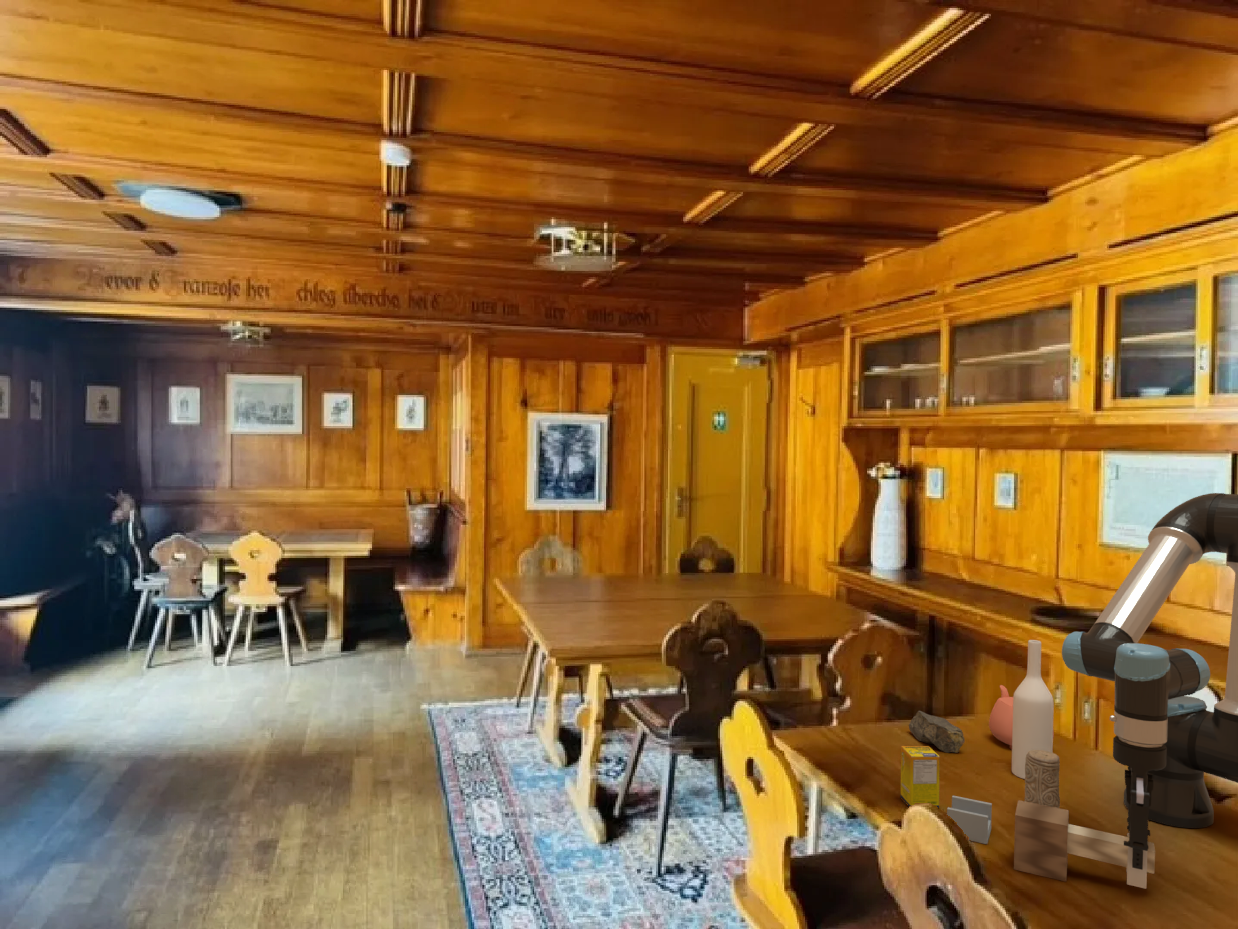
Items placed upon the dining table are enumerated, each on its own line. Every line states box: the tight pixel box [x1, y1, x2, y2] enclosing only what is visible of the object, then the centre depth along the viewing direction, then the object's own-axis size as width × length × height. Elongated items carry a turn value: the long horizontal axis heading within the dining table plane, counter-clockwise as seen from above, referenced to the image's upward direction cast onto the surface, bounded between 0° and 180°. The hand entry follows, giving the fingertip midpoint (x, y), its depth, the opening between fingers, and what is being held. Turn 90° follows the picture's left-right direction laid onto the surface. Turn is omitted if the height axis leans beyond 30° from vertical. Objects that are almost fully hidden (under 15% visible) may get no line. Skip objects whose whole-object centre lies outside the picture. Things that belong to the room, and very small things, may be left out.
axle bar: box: [1067, 823, 1156, 874], centre depth 141 cm, size 16×4×4 cm, turn 60°
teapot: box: [988, 684, 1055, 750], centre depth 207 cm, size 13×20×12 cm, turn 2°
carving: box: [1024, 750, 1061, 808], centre depth 167 cm, size 6×8×12 cm
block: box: [1013, 799, 1070, 882], centre depth 145 cm, size 8×7×10 cm
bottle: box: [1011, 639, 1054, 780], centre depth 186 cm, size 8×8×30 cm
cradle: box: [946, 795, 993, 845], centre depth 158 cm, size 7×7×5 cm
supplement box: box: [900, 745, 941, 809], centre depth 171 cm, size 6×6×11 cm
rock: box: [908, 710, 966, 754], centre depth 206 cm, size 17×7×10 cm
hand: (1136, 879), depth 139 cm, fingers closed on axle bar, 4 cm apart
